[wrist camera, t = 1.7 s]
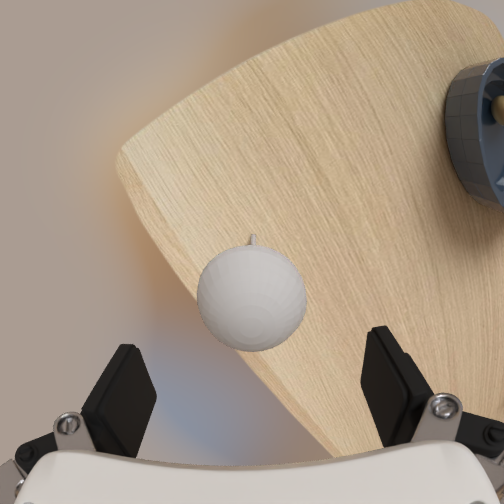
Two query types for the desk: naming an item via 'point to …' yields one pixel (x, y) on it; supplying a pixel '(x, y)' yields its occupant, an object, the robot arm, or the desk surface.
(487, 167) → the bowl
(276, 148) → the desk surface
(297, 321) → the lollipop
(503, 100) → the bead
